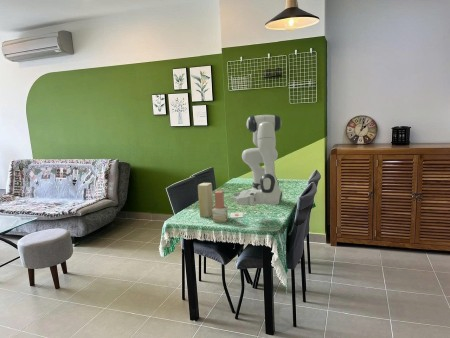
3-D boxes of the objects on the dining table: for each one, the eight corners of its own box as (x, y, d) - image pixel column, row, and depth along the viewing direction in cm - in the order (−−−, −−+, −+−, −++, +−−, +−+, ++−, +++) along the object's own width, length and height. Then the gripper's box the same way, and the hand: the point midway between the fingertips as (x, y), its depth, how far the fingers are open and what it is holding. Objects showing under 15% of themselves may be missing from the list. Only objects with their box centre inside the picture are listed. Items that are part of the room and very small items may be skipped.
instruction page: (230, 212, 224) (230, 212, 224) (242, 212, 223) (242, 211, 223) (230, 217, 214) (230, 217, 214) (243, 217, 214) (243, 216, 214)
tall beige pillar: (204, 212, 227) (201, 182, 223) (214, 213, 224) (212, 182, 220) (198, 216, 220) (196, 185, 216) (209, 217, 217) (206, 185, 213)
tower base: (215, 217, 216) (214, 205, 215) (227, 217, 215) (227, 205, 213) (213, 221, 208) (212, 209, 207) (225, 221, 207) (225, 209, 205)
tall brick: (217, 206, 213) (216, 190, 211) (224, 206, 212) (223, 190, 210) (215, 208, 209) (214, 192, 207) (222, 208, 207) (221, 192, 206)
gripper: (257, 187, 212) (235, 187, 216) (251, 196, 193) (227, 195, 197) (257, 197, 213) (236, 197, 217) (251, 206, 194) (228, 206, 198)
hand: (232, 196), depth 207 cm, fingers open, 8 cm apart
